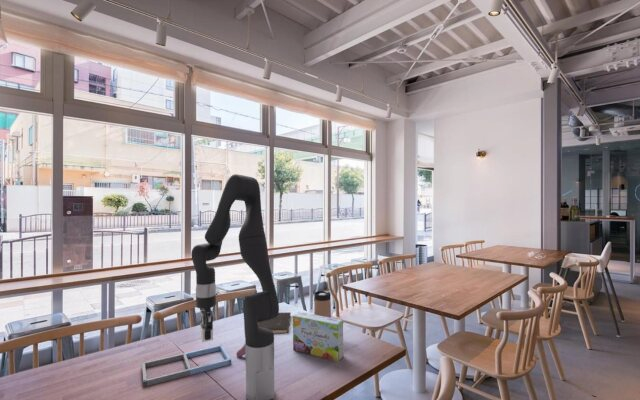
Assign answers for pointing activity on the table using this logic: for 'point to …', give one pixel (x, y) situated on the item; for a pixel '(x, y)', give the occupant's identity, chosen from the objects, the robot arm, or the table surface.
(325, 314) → the travel mug
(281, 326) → the hardcover book
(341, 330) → the snack box
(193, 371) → the two-cell open frame
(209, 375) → the table surface
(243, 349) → the video game controller
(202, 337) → the grey rectangular block
